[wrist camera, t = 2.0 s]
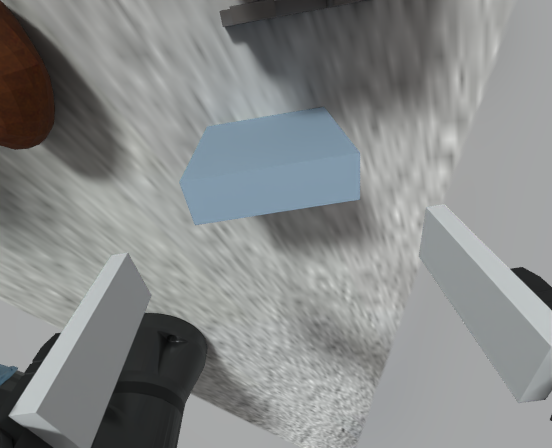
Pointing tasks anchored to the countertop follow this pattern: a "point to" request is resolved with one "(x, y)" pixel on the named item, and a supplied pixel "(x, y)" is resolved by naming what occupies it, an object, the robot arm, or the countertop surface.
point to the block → (270, 167)
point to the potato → (22, 88)
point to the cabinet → (274, 9)
